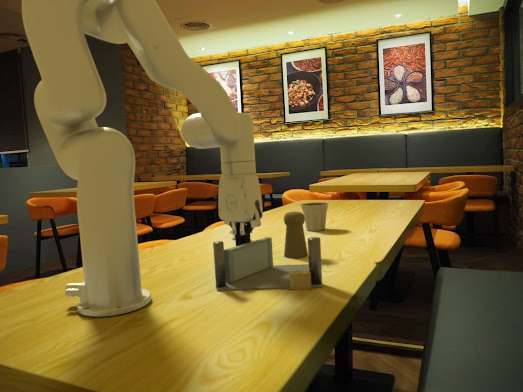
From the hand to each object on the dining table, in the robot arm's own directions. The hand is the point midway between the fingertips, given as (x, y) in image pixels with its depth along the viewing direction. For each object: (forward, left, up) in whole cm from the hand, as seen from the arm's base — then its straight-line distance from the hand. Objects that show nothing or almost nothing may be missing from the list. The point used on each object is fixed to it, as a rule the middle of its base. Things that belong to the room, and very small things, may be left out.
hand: (243, 251), depth 95 cm
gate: (+2, -6, -4) cm, 7 cm away
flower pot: (+19, +46, -4) cm, 50 cm away
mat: (+6, -7, -4) cm, 10 cm away
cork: (+12, +11, -4) cm, 17 cm away
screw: (-6, +37, -4) cm, 38 cm away
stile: (+13, -14, -4) cm, 20 cm away
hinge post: (-3, -13, -4) cm, 14 cm away
